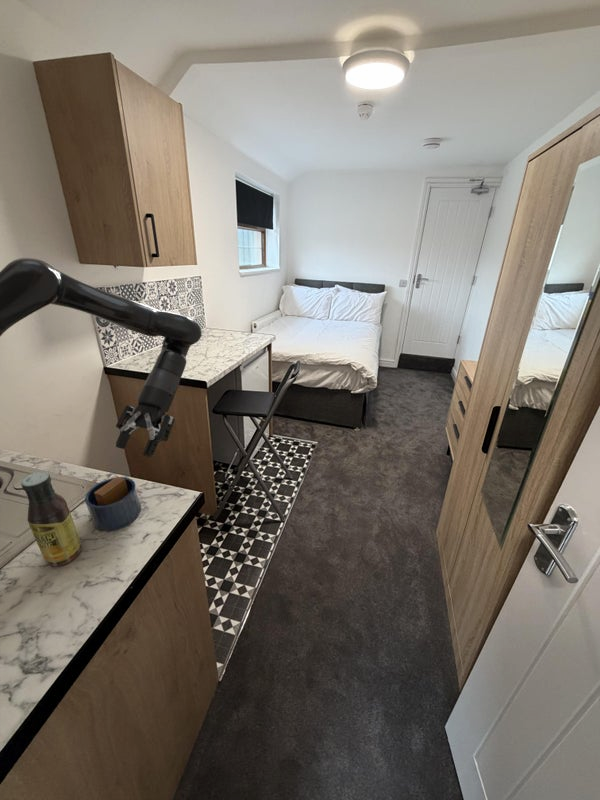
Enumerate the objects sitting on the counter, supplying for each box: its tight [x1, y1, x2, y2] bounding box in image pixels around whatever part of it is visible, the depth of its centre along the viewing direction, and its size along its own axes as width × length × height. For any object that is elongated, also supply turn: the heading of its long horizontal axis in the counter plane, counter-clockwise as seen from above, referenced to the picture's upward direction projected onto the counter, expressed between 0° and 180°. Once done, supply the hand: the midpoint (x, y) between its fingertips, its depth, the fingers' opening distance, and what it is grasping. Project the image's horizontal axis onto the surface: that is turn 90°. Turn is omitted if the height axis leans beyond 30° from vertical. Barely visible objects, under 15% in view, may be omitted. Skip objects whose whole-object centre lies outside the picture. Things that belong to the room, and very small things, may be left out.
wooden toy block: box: [94, 475, 129, 506], centre depth 74 cm, size 2×6×8 cm, turn 158°
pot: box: [84, 476, 142, 532], centre depth 75 cm, size 10×10×7 cm
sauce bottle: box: [20, 471, 82, 567], centre depth 62 cm, size 7×6×20 cm
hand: (132, 452), depth 77 cm, fingers open, 8 cm apart
